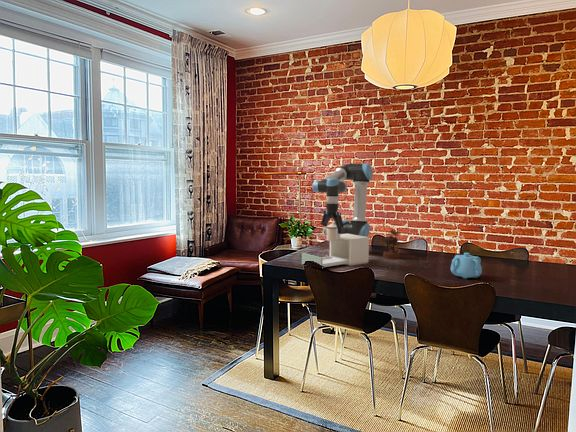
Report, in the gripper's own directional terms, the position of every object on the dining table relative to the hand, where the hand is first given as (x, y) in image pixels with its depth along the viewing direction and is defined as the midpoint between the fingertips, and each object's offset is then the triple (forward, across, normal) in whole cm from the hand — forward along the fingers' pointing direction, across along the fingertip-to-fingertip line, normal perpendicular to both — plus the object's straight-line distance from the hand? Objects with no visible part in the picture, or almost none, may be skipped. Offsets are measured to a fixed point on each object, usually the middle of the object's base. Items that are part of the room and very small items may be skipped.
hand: (331, 237), depth 272 cm
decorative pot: (+17, +67, +42) cm, 81 cm away
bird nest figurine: (+17, +6, +48) cm, 51 cm away
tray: (+17, 0, -4) cm, 17 cm away
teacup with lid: (+2, 0, 0) cm, 2 cm away
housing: (+17, 0, +15) cm, 23 cm away
